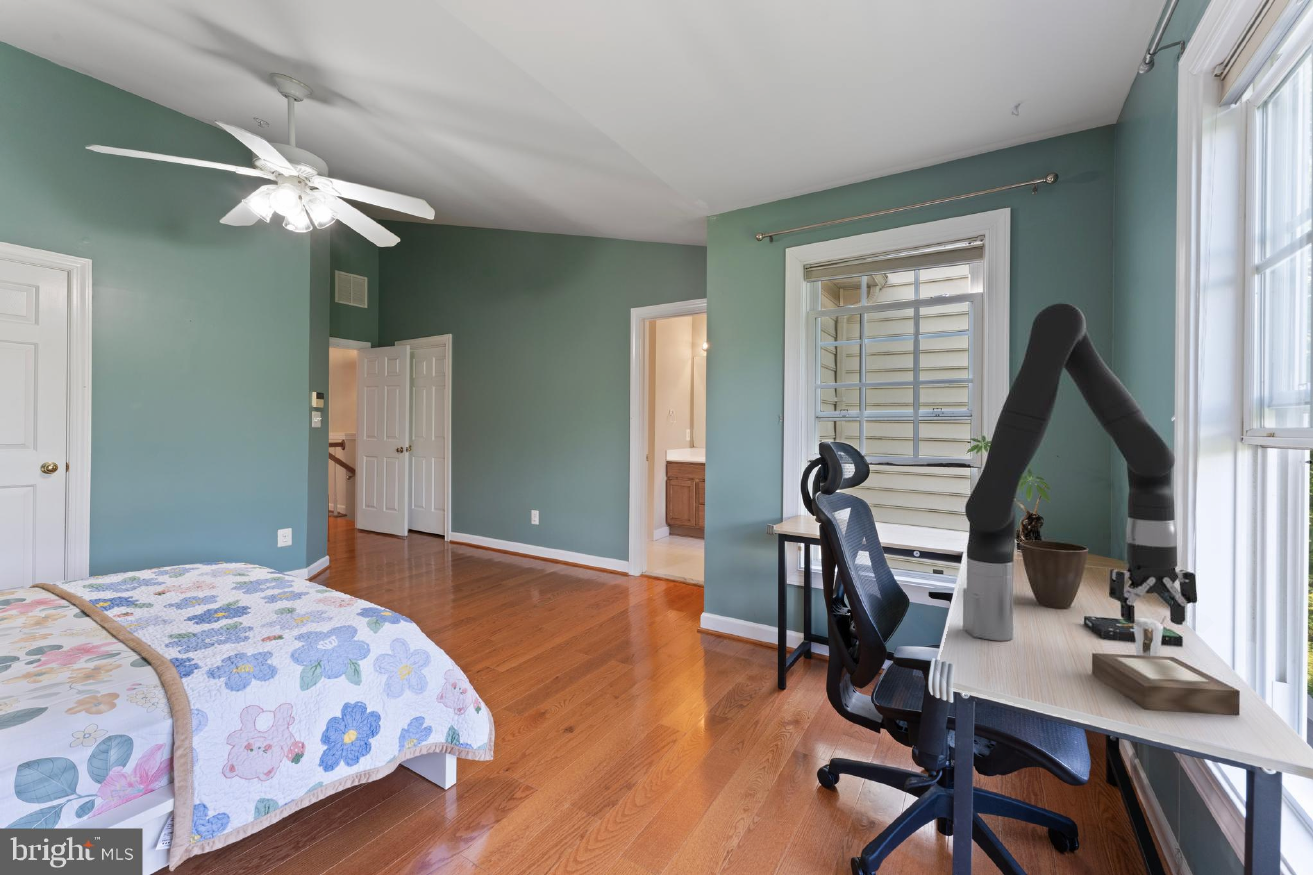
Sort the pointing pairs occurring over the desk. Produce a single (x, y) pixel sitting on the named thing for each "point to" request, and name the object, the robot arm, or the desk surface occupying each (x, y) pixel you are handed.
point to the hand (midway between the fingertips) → (1152, 622)
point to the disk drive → (1125, 630)
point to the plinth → (1165, 684)
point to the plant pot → (1054, 571)
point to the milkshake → (1148, 636)
